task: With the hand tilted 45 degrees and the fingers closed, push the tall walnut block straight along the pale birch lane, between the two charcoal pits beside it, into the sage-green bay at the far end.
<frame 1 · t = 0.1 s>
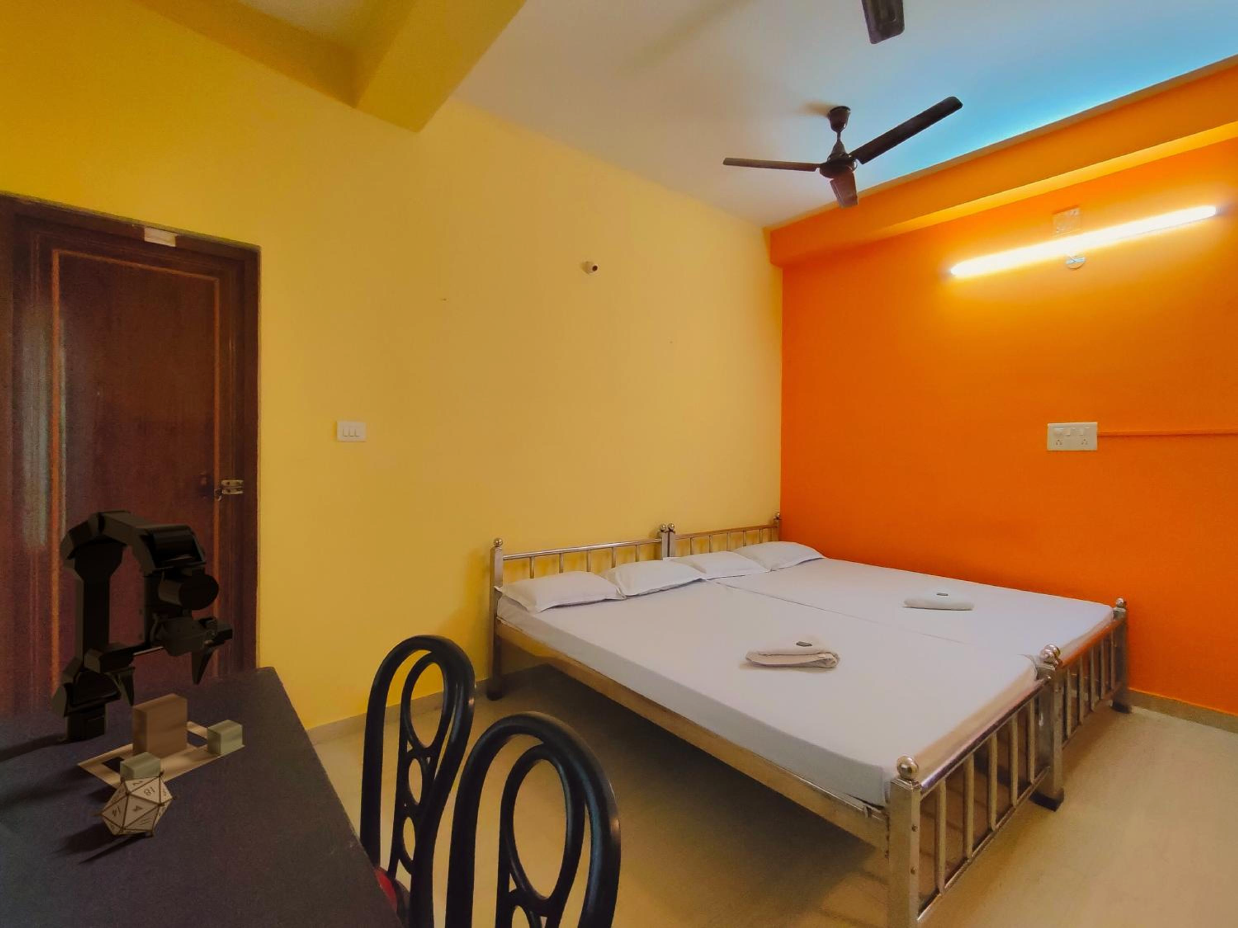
hand: (164, 694, 92), 15 cm above the table, tool pointing down, fingers open, 9 cm apart
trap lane: (163, 761, 98), on the table
game die: (137, 833, 80), on the table
walnut block: (160, 752, 99), point 1 cm above the table, touching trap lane
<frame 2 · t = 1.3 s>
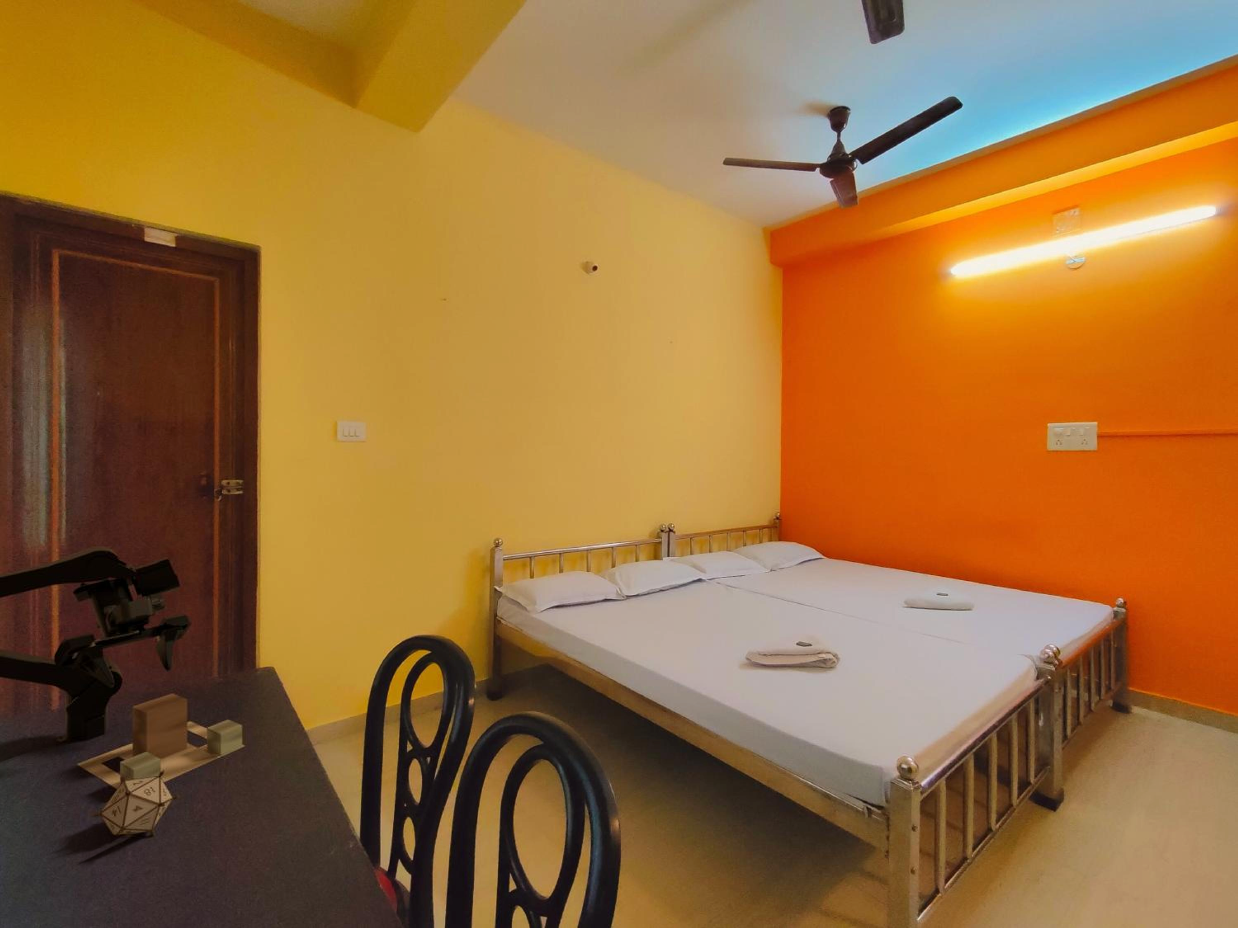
hand: (141, 677, 101), 14 cm above the table, tool tilted 45°, fingers open, 8 cm apart
nothing on the table moved.
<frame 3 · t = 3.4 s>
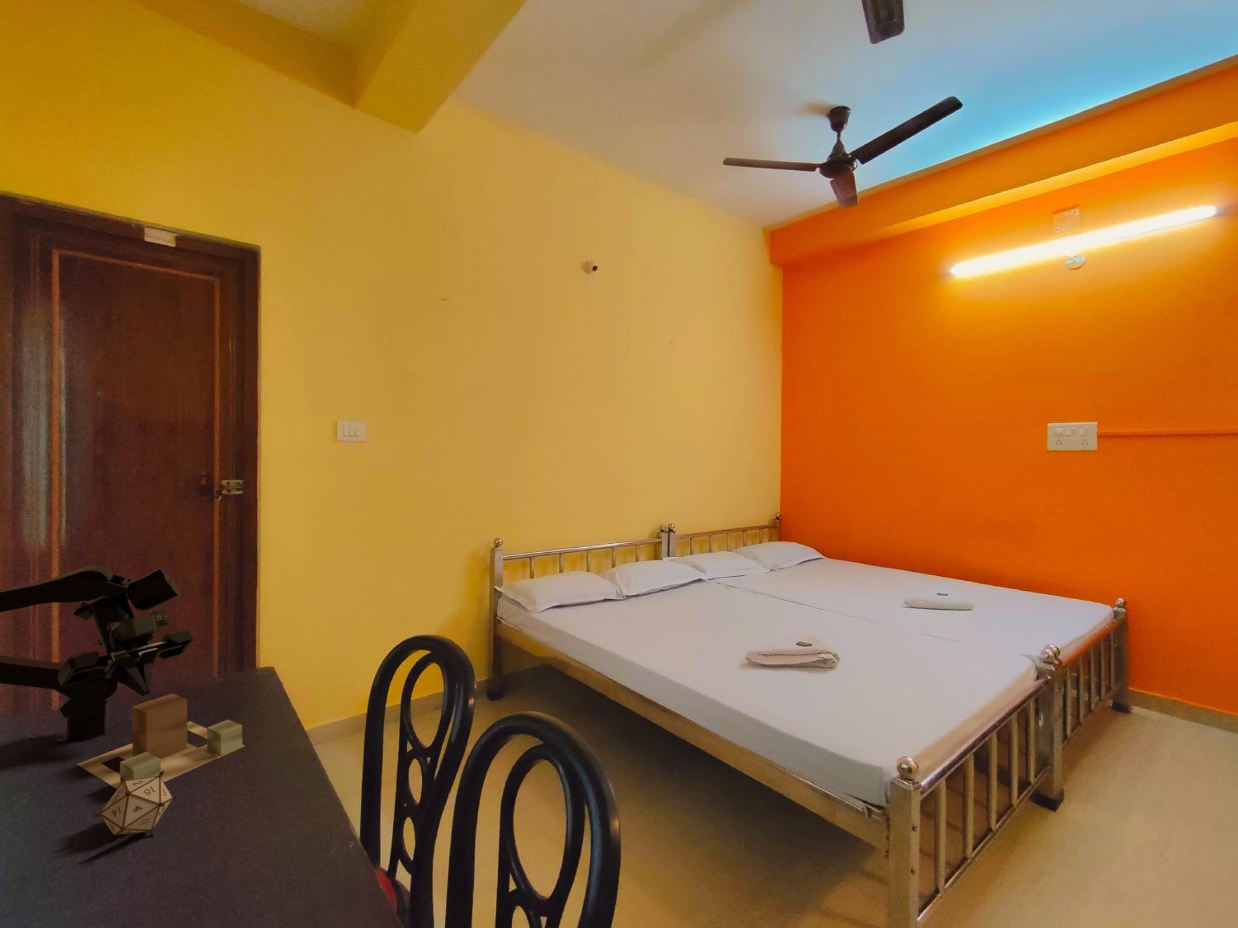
hand: (146, 694, 101), 10 cm above the table, tool tilted 45°, fingers closed
nothing on the table moved.
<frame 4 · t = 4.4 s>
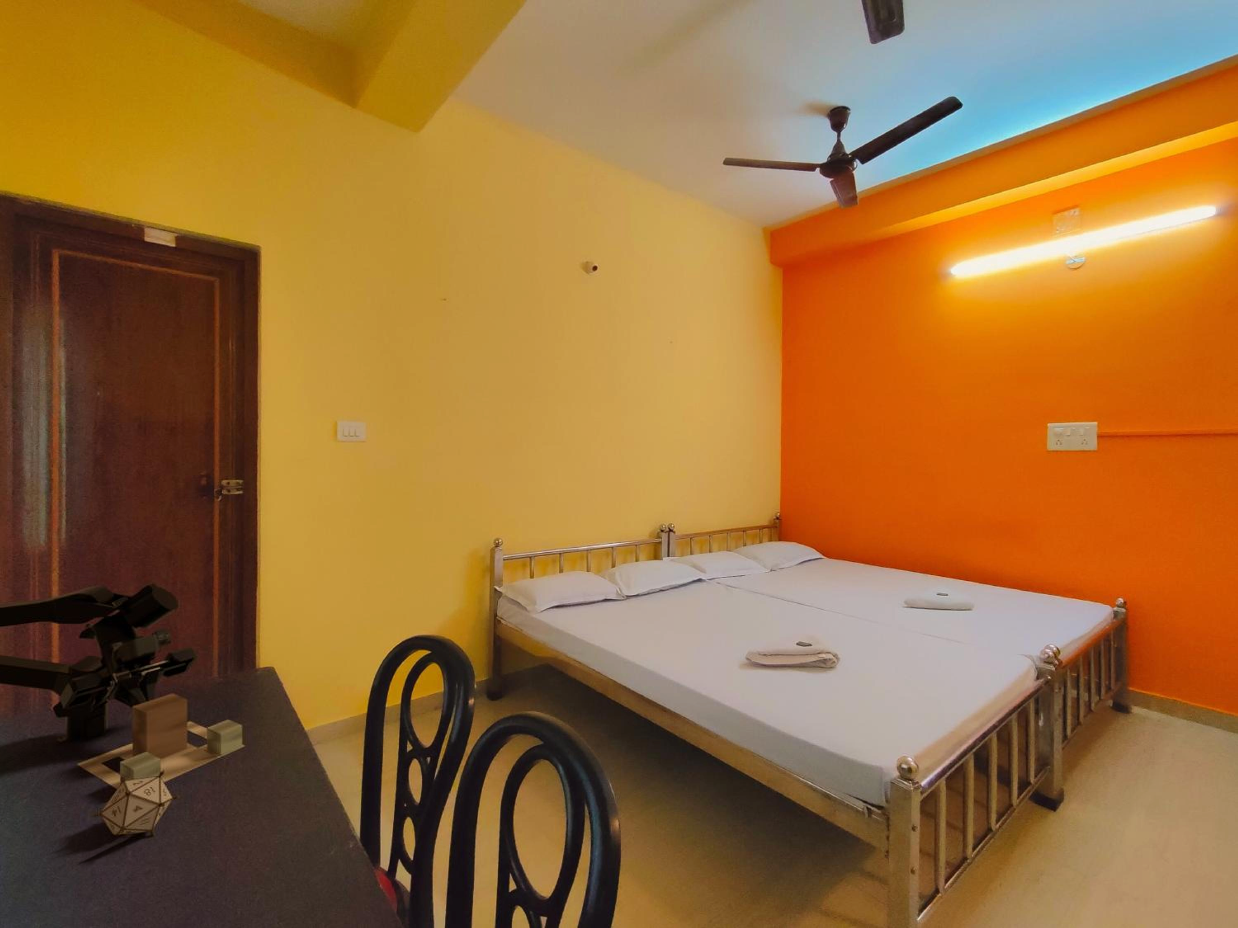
hand: (150, 714, 100), 7 cm above the table, tool tilted 45°, fingers closed
nothing on the table moved.
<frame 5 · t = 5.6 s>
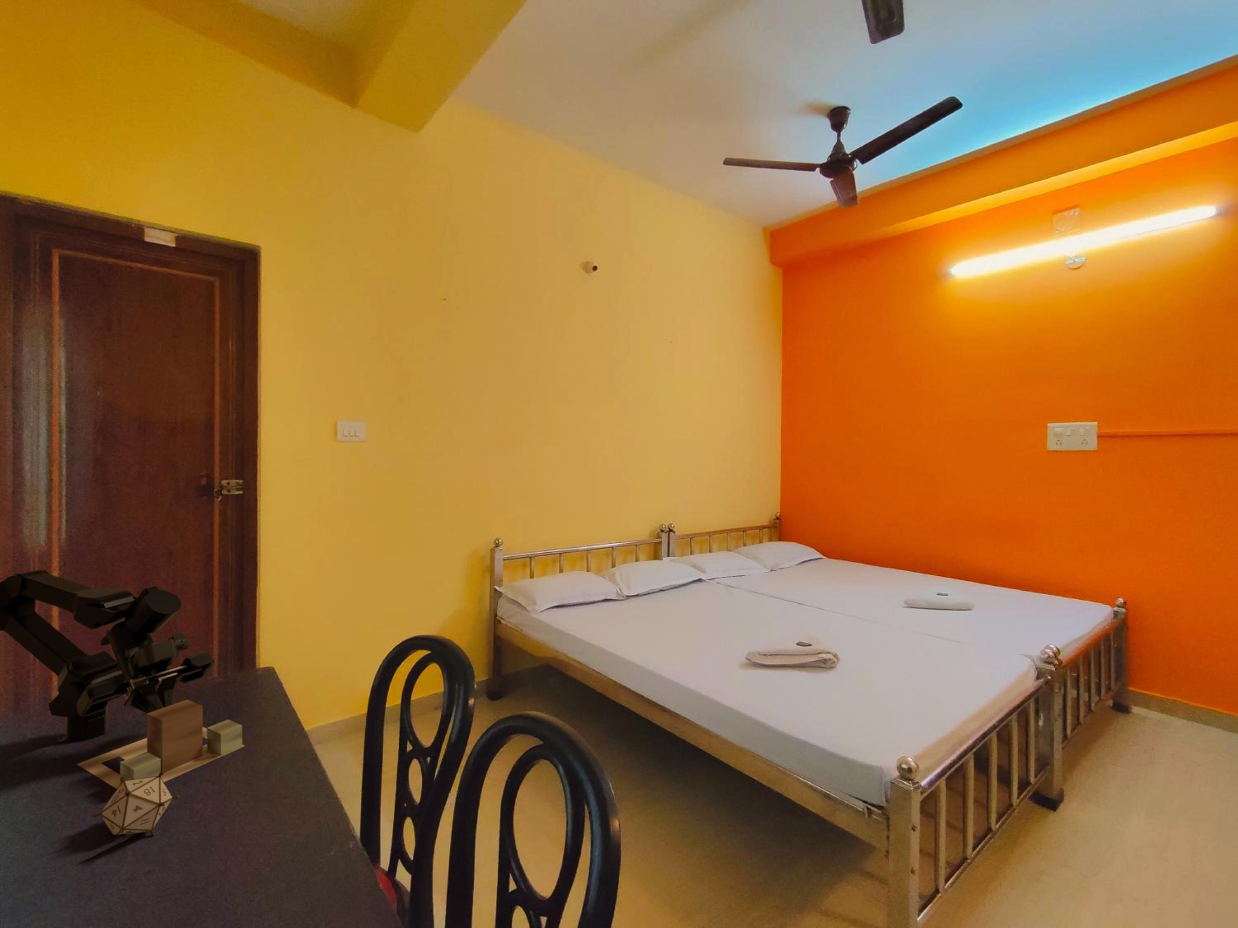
hand: (168, 721, 98), 7 cm above the table, tool tilted 45°, fingers closed, pressing on walnut block
walnut block: (175, 760, 96), point 1 cm above the table, touching gripper
everything else where it was.
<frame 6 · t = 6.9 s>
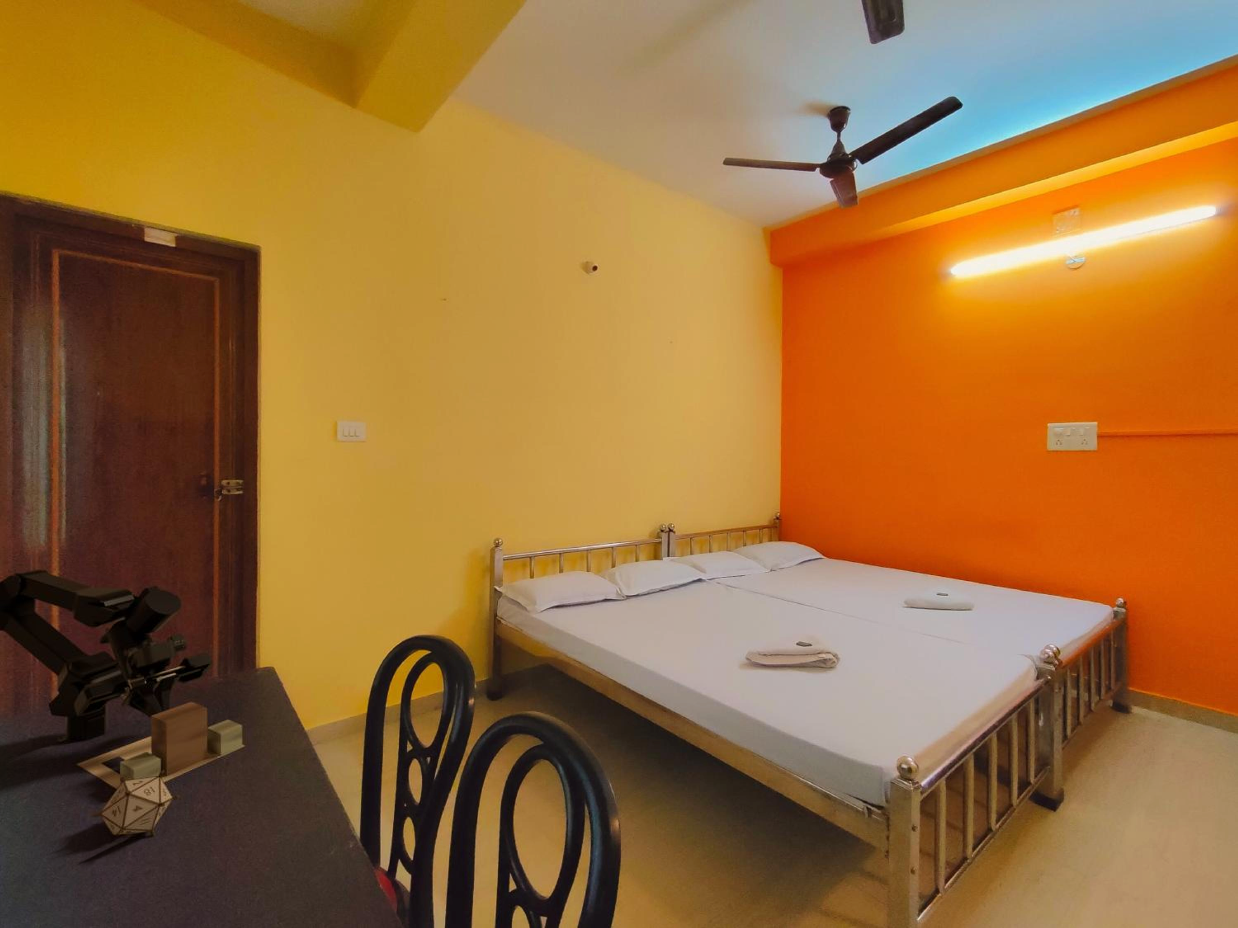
hand: (164, 722, 98), 7 cm above the table, tool tilted 45°, fingers closed
walnut block: (179, 763, 96), point 1 cm above the table, touching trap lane
everything else where it was.
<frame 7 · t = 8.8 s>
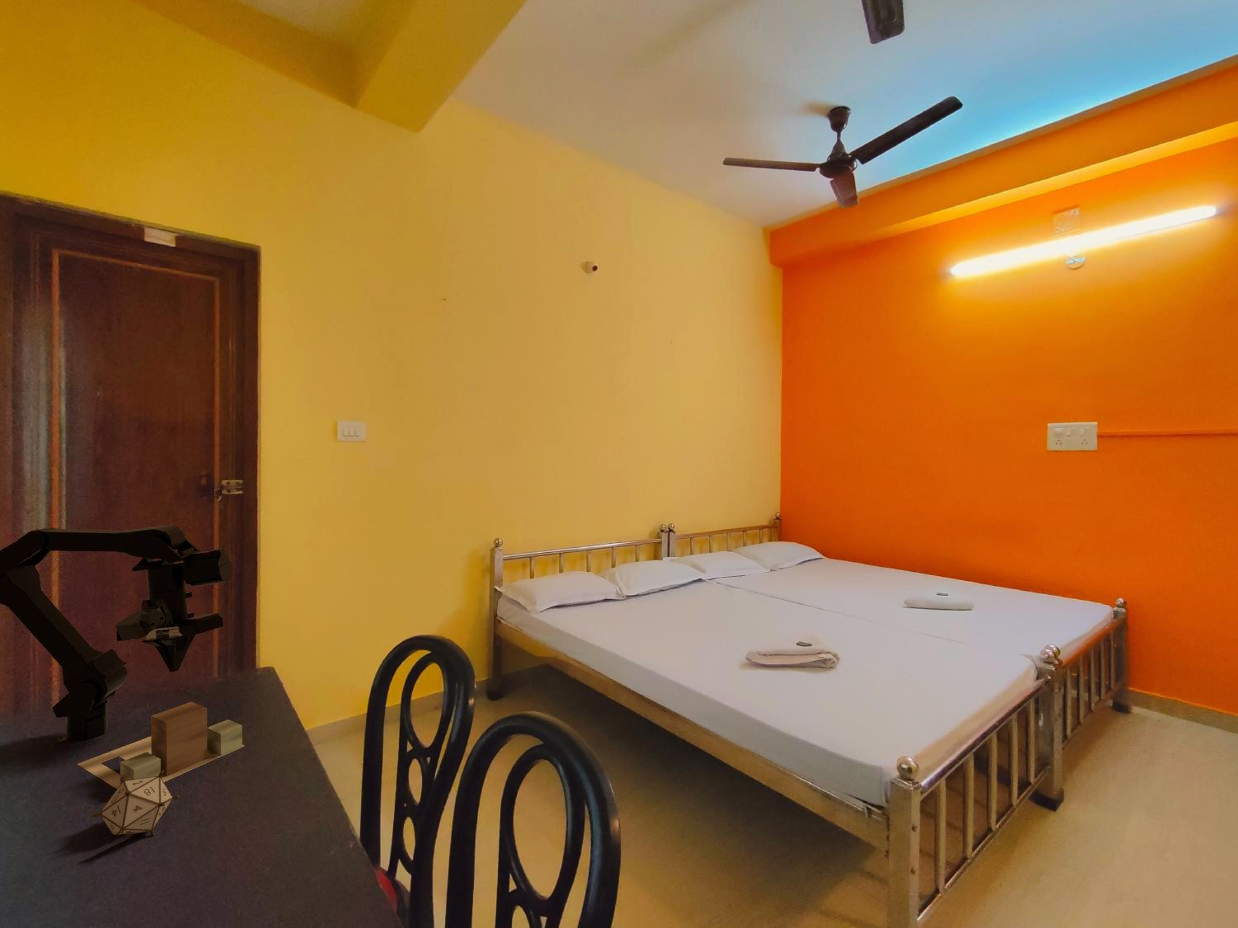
hand: (174, 671, 107), 12 cm above the table, tool pointing down, fingers closed
nothing on the table moved.
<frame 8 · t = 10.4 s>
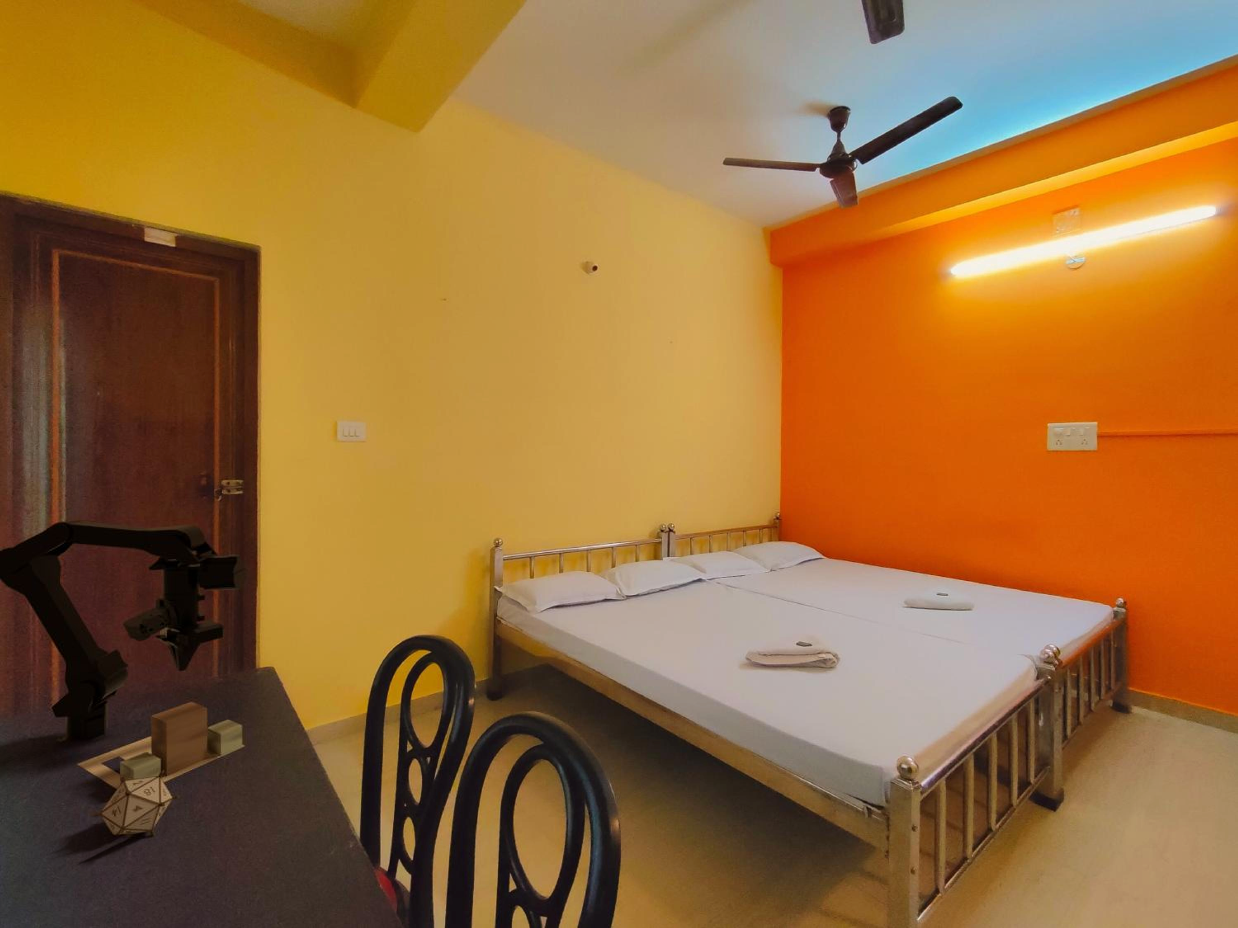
hand: (181, 670, 108), 12 cm above the table, tool pointing down, fingers closed
nothing on the table moved.
at the end: walnut block 0.6 cm from the target spot, point 1.2 cm above the table; walnut block tilted 0° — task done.
